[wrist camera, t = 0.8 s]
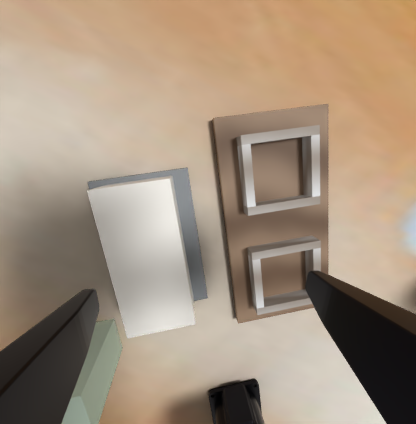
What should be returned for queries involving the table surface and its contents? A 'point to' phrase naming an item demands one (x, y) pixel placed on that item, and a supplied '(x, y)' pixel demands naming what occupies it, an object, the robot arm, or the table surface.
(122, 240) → the cover
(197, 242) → the board
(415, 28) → the table surface
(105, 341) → the peg
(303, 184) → the build board
